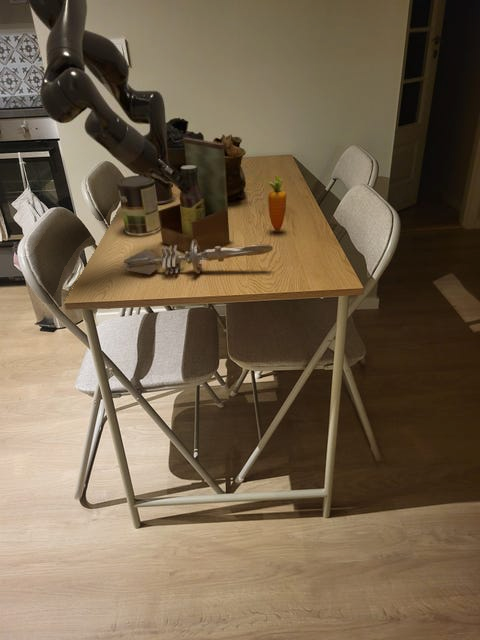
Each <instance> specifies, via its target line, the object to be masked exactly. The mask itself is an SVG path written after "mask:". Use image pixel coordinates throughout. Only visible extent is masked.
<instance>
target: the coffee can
mask: <svg viewBox="0 0 480 640" xmlns="http://www.w3.org/2000/svg"><path fill="white" fill-rule="evenodd" d="M116 186H117V190H118V197H119V201H120V208H121V213H122V218H123V219H122V220H123V223H124V232H125V234H127V235H129V236H133V237H144V236H149V235H153V234H156V233H158V232H159V231H161V228H160V221H159V214H158V211H159V206H158V205H159V204H157V197H156V189H155V181H154V180H151V179H150V178H146V177H144V176H143V175H139V174H137V175H130V176H125V177H122V178H119V179H118V180H117V181H116Z"/></svg>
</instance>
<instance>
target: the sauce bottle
mask: <svg viewBox="0 0 480 640" xmlns="http://www.w3.org/2000/svg"><path fill="white" fill-rule="evenodd" d="M180 172H181V173H182V174H183V175H184V176H185V177H186V180H185V182H186V183H187V184H189V185H190V186H191V190H190V192H189V194H188V195H186V194H184V193H183V192H182V191H181V190H179V204H180V210H181V220H182V230H183V234H184V235H187V236H190V237H192V238H193V234H192V225H191V222H193V221H195V220H198V219H201V218H204V217H205V206H204V197H203V195H202V192H201V190H200V188H199V185H198V181H197V166H194V165H187V166H182V167H181V169H180Z"/></svg>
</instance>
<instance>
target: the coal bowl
mask: <svg viewBox="0 0 480 640" xmlns="http://www.w3.org/2000/svg"><path fill="white" fill-rule="evenodd" d="M189 123H190V122H189V121H188V120H186V119H185V118H181V117H174V118H171V119H169V120H168V121H166V131H167V138H166V143H167V151H168V159H169V163H170V164H171V165H172V166H174V167H175V168H176V169H177V170H181V167H182V166H187V165H186V155H185V145H184V143H183V138H192V139H198V140H204V141H205V137H204V134H203V133H202V132H201V131H199V132H198V133H196V132H194V131H189V130H188V127H189Z"/></svg>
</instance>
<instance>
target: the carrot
mask: <svg viewBox="0 0 480 640" xmlns="http://www.w3.org/2000/svg"><path fill="white" fill-rule="evenodd" d="M274 178H275V183H273V182H271V181H268V182H267V184H268V185H269V186H271V187H272V188H273V190H271V191H269V192H268V197H267V201H268V213H269V220H270V223H271V225H272V227H273V229H274V231H275V232H276V233H279V232H280V230H281V228H282V227H283V224H284V221H285V215H286V209H287V192H286V191H284V190H282V189H281V188H282V184H283V179H282V178H280V177H279V175H276V176H274Z"/></svg>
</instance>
